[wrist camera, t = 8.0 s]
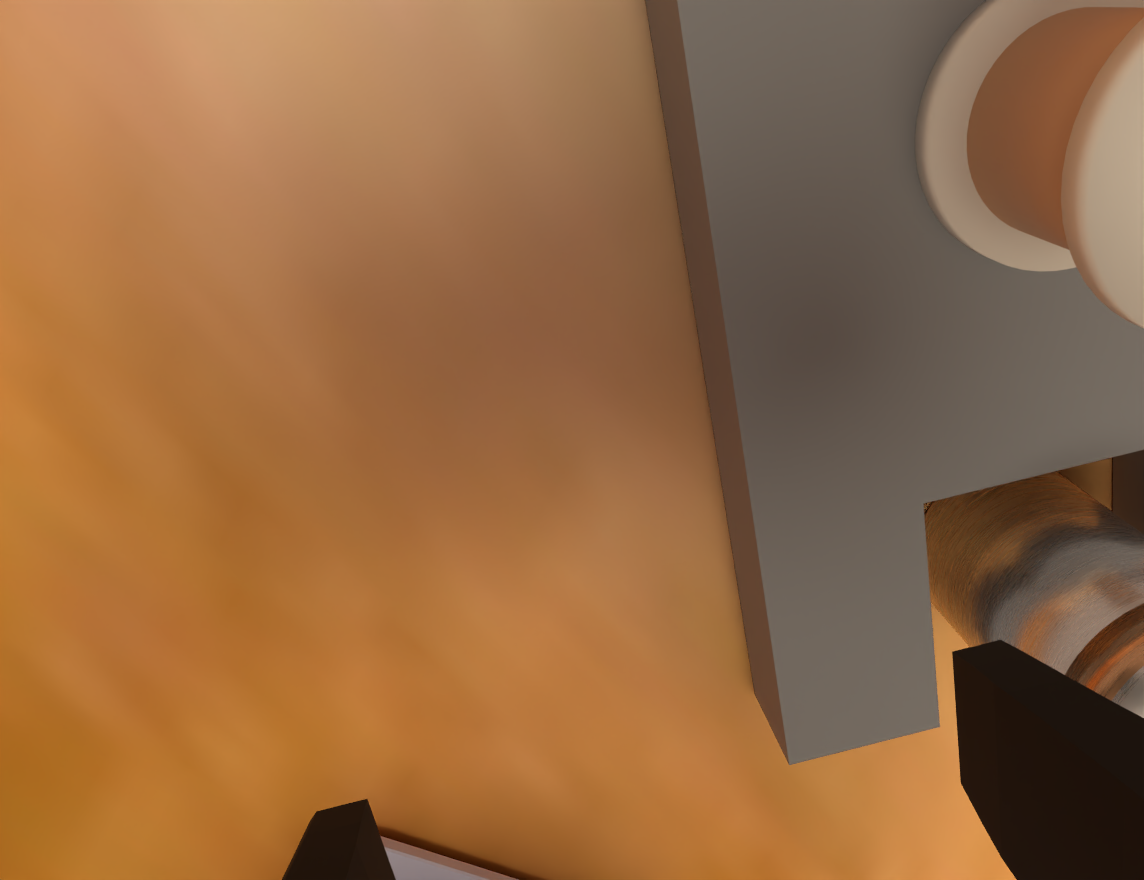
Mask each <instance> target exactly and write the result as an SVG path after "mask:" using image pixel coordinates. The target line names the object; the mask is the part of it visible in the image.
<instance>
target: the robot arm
mask: <svg viewBox="0 0 1144 880" xmlns="http://www.w3.org/2000/svg"><path fill="white" fill-rule="evenodd" d="M952 653H953V669H954V684H955V700H956V715H957V731H958V746H959V762H960V777H961V784H962V786H963V788H964V790H965V792H966V793H967V795H968V797H969V799H970V801H971V803H972V805H973V807H974V809H975V810H976V812H977V814H978V816H979V818H980V820H981V822H982V824H983V825H984V827H985V829H986V831H987V833H988V834H989V836H990V838H991V840H992V841H993V843H994V845H995V847H996V849H997V850H998V852H999V854H1000V856H1001V857H1002V859H1003V860H1004V862H1005V863H1006V865H1007V866H1008V868H1009V869H1010V871H1011V872H1012V873H1013V875H1014V876H1015V878H1016V879H1017V880H1144V718H1143V717H1141V716H1139V715H1137V714H1135V713H1133V712H1131V711H1129V710H1128V709H1126V708H1124V707H1122V706H1120V705H1118V704H1116V703H1115V702H1113V701H1111V700H1109V699H1107V698H1105V697H1104V696H1102V695H1100V694H1098V693H1096V692H1095V691H1093V690H1091V689H1089V688H1087V687H1086V686H1084V685H1082V684H1080V683H1078V682H1077V681H1075V680H1073V679H1071V678H1069V677H1068V676H1066V675H1064V674H1062V673H1060V672H1059V671H1057V670H1055V669H1053V668H1052V667H1050V666H1048V665H1046V664H1044V663H1043V662H1041V661H1039V660H1037V659H1036V658H1034V657H1032V656H1030V655H1028V654H1027V653H1025V652H1023V651H1021V650H1019V649H1017V648H1016V647H1014V646H1012V645H1010V644H1008V643H1006V642H1004V641H1002V640H997V641H993V642H989V643H985V644H981V645H977V646H973V647H969V648H965V649H961V650H958V651H954V652H952ZM282 880H518V879H515V878H512V877H509V876H506V875H503V874H499V873H496V872H493V871H490V870H487V869H484V868H480V867H477V866H474V865H471V864H468V863H465V862H461V861H458V860H455V859H452V858H449V857H446V856H443V855H439V854H436V853H433V852H430V851H427V850H424V849H420V848H417V847H414V846H411V845H408V844H405V843H401V842H398V841H395V840H392V839H389V838H386V837H382V836H380V834H379V831H378V828H377V825H376V822H375V820H374V817H373V814H372V811H371V808H370V805H369V803H368V800H367V799H365V800H361V801H357V802H353V803H349V804H345V805H341V806H337V807H333V808H329V809H325V810H321V811H317V812H316V813H315V815H314V816H313V818H312V819H311V821H310V822H309V824H308V826H307V829H306V831H305V833H304V835H303V837H302V839H301V841H300V843H299V845H298V847H297V850H296V852H295V854H294V856H293V858H292V860H291V862H290V864H289V866H288V868H287V870H286V872H285V874H284V877H283V879H282Z"/></svg>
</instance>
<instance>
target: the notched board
mask: <svg viewBox="0 0 1144 880" xmlns="http://www.w3.org/2000/svg"><path fill="white" fill-rule="evenodd" d="M645 2H646V8H647V14H648V21H649V27H650V33H651V40H652V46H653V52H654V59H655V65H656V71H657V78H658V84H659V90H660V97H661V103H662V109H663V116H664V122H665V128H666V135H667V141H668V147H669V154H670V160H671V166H672V173H673V179H674V185H675V192H676V198H677V204H678V211H679V217H680V223H681V230H682V236H683V242H684V249H685V255H686V261H687V268H688V274H689V280H690V287H691V293H692V299H693V306H694V312H695V318H696V325H697V331H698V337H699V344H700V350H701V356H702V363H703V369H704V375H705V382H706V388H707V394H708V401H709V407H710V413H711V420H712V426H713V432H714V439H715V445H716V451H717V458H718V464H719V470H720V477H721V483H722V489H723V496H724V502H725V509H726V515H727V521H728V528H729V534H730V540H731V547H732V553H733V559H734V566H735V572H736V578H737V585H738V591H739V597H740V604H741V610H742V616H743V623H744V629H745V635H746V642H747V648H748V654H749V661H750V667H751V673H752V680H753V686H754V692H755V696H756V698H757V700H758V702H759V704H760V706H761V708H762V710H763V712H764V714H765V716H766V718H767V720H768V722H769V724H770V726H771V728H772V731H773V733H774V735H775V737H776V739H777V741H778V743H779V745H780V747H781V749H782V751H783V753H784V755H785V757H786V759H787V761H788V763H789V765H792V764H796V763H799V762H803V761H807V760H811V759H815V758H819V757H823V756H827V755H831V754H835V753H839V752H843V751H847V750H850V749H854V748H858V747H862V746H866V745H870V744H874V743H878V742H882V741H886V740H890V739H894V738H898V737H902V736H905V735H909V734H913V733H917V732H921V731H925V730H929V729H933V728H937V727H940V723H939V710H938V696H937V682H936V669H935V655H934V641H933V628H932V614H931V600H930V587H929V573H928V559H927V546H926V532H925V518H924V505H923V503H928V502H932V501H936V500H940V499H944V498H948V497H952V496H956V495H960V494H964V493H968V492H973V491H977V490H981V489H985V488H989V487H993V486H997V485H1001V484H1005V483H1009V482H1013V481H1018V480H1022V479H1026V478H1030V477H1034V476H1038V475H1042V474H1046V473H1050V472H1054V471H1058V470H1063V469H1067V468H1071V467H1075V466H1079V465H1083V464H1087V463H1091V462H1095V461H1099V460H1103V459H1108V458H1112V457H1113V513H1115V514H1116V515H1117V516H1119V517H1120V518H1122V519H1123V520H1124V521H1126V522H1127V523H1128V524H1130V525H1131V526H1133V527H1134V528H1135V529H1137V530H1138V531H1139V532H1141V533H1142V534H1144V0H645Z"/></svg>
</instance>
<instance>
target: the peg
mask: <svg viewBox="0 0 1144 880" xmlns="http://www.w3.org/2000/svg"><path fill="white" fill-rule="evenodd" d="M924 518H925V532H926V546H927V559H928V573H929V587H930V600H931V603H932V604H933V605H934V607H935V608H936V609H937V610H938V611H939V612H940V613H941V615H942V616H943V617H944V618H945V619H946V620H947V621H948V623H949V624H950V625H951V626H952V627H953V628H954V629H955V631H956V632H957V633H958V634H959V635H960V636H961V637H962V639H963V640H964V641H965V642H966V643H967V644H968V646H969V647H973V646H977V645H981V644H985V643H989V642H993V641H997V640H1002V641H1004V642H1006V643H1008V644H1010V645H1012V646H1014V647H1016V648H1017V649H1019V650H1021V651H1023V652H1025V653H1027V654H1028V655H1030V656H1032V657H1034V658H1036V659H1037V660H1039V661H1041V662H1043V663H1044V664H1046V665H1048V666H1050V667H1052V668H1053V669H1055V670H1057V671H1059V672H1060V673H1062V674H1064V675H1066V676H1068V677H1069V678H1071V679H1073V680H1075V681H1077V682H1078V683H1080V684H1082V685H1084V686H1086V687H1087V688H1089V689H1091V690H1093V691H1095V692H1096V693H1098V694H1100V695H1102V696H1104V697H1105V698H1107V699H1109V700H1111V701H1113V702H1115V703H1116V704H1118V705H1120V706H1122V707H1124V708H1126V709H1128V710H1129V711H1131V712H1133V713H1135V714H1137V715H1139V716H1141V717H1143V718H1144V534H1142V533H1141V532H1139V531H1138V530H1137V529H1135V528H1134V527H1133V526H1131V525H1130V524H1128V523H1127V522H1126V521H1124V520H1123V519H1122V518H1120V517H1119V516H1117V515H1116V514H1115V513H1113V512H1112V511H1110V510H1109V509H1108V508H1106V507H1105V506H1104V505H1102V504H1101V503H1099V502H1098V501H1097V500H1095V499H1094V498H1093V497H1091V496H1090V495H1088V494H1087V493H1086V492H1084V491H1083V490H1081V489H1080V488H1079V487H1077V486H1076V485H1075V484H1073V483H1072V482H1070V481H1069V480H1068V479H1066V478H1065V477H1064V476H1062V475H1061V474H1059V473H1058V472H1056V471H1054V472H1050V473H1046V474H1042V475H1038V476H1034V477H1030V478H1026V479H1022V480H1018V481H1013V482H1009V483H1005V484H1001V485H997V486H993V487H989V488H985V489H981V490H977V491H973V492H968V493H964V494H960V495H956V496H952V497H948V498H944V499H940V500H936V501H934V502H933V504H932V505H931V506H930V507H929V509H928V510H927V512H926V514H925V515H924Z"/></svg>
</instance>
